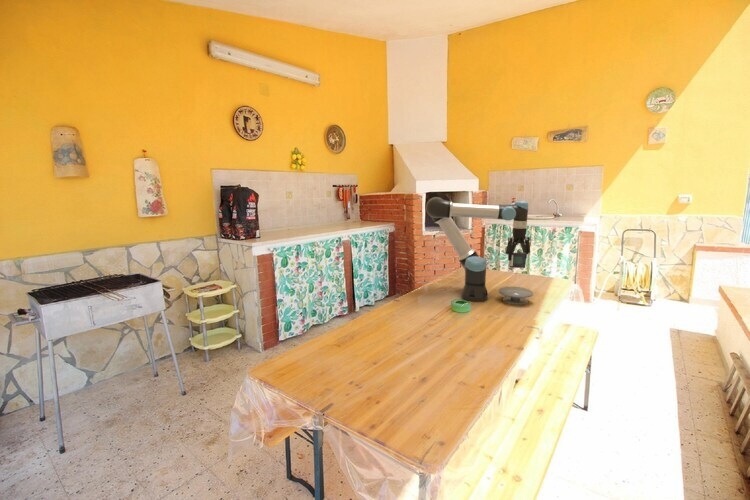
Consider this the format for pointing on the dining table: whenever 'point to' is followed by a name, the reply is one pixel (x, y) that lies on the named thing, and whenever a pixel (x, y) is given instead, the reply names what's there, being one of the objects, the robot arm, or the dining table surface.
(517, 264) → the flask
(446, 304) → the dining table surface
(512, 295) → the cake stand
